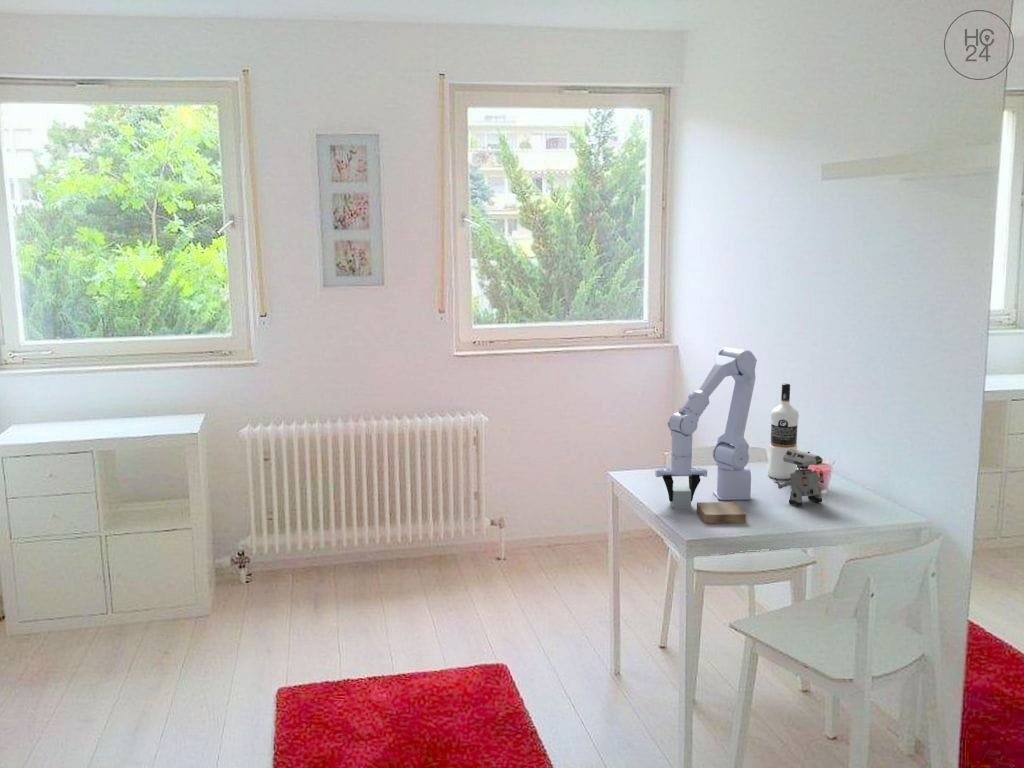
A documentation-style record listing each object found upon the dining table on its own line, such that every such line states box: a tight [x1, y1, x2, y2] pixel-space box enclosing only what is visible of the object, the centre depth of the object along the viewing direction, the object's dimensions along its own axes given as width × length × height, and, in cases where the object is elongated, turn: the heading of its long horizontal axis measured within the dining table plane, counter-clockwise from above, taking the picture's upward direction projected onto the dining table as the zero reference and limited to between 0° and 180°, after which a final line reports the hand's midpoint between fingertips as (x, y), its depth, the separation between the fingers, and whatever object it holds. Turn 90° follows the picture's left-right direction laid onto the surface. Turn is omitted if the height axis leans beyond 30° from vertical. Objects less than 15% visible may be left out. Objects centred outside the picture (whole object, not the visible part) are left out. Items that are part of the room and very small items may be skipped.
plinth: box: [696, 501, 747, 525], centre depth 254 cm, size 11×11×2 cm
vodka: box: [766, 383, 800, 480], centre depth 291 cm, size 9×9×30 cm
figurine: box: [774, 449, 825, 508], centre depth 266 cm, size 9×12×15 cm
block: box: [669, 485, 692, 509], centre depth 265 cm, size 5×5×5 cm
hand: (680, 500), depth 265 cm, fingers closed on block, 5 cm apart
